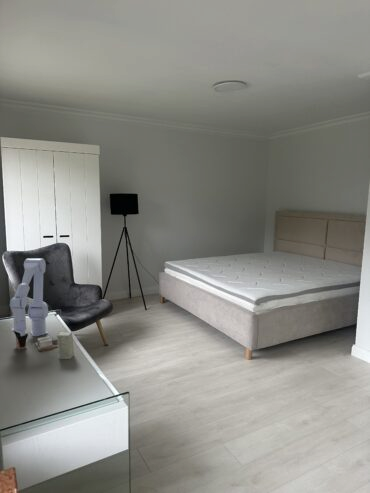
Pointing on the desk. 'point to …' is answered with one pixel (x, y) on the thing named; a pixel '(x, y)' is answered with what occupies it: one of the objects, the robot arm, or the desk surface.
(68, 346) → the skincare box
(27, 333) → the robot arm
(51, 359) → the desk surface
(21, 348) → the terracotta block
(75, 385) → the desk surface
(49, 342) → the plate
